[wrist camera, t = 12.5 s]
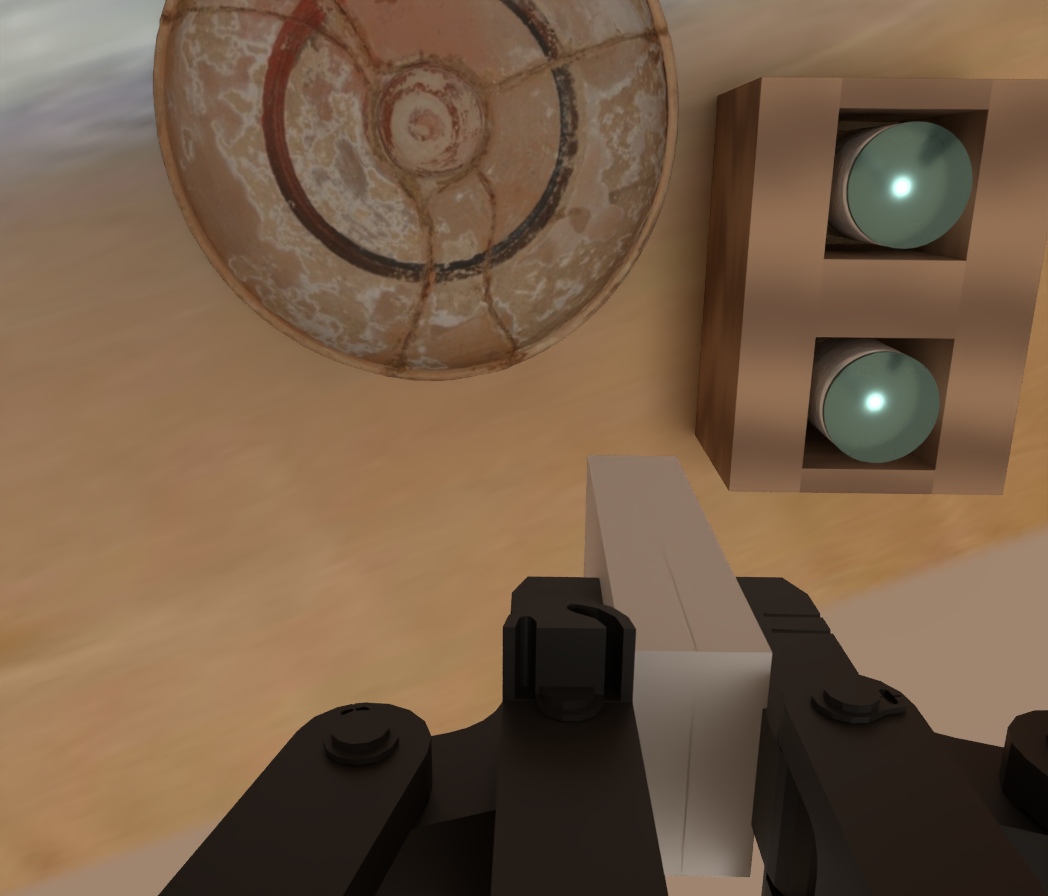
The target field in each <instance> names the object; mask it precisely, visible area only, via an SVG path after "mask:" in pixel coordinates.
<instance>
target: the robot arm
mask: <svg viewBox="0 0 1048 896" xmlns="http://www.w3.org/2000/svg"><path fill="white" fill-rule="evenodd" d="M754 835H755V838H756V841H757V844H758V847H759V850H760V853H761V856H762V859H763V862H764V865H765V866H764V876H763V886H762V895H761V896H1048V710H1043V711H1042V710H1041V711H1040V710H1038V711H1037V710H1036V711H1031V712H1028V713H1025V714H1022V715H1019V716H1016V717H1015V719H1014V720H1013V721H1012V723H1011V724H1010V725H1009V727H1008V730H1007V735H1006V741H1005V746H1004V747H998V746H994V745H988V744H984V743H979V742H973V741H968V740H964V739H958V738H954V737H950V736H946V735H942V734H938V733H934V732H933V730H932V729H931V727H930V726H929V725H928V723H927V722H926V720H925V719H924V718H923V716H922V715H921V713H920V712H919V711H918V709H917V708H916V706H915V705H914V704H913V703H912V702H911V701H910V700H909V699H908V698H906V697H905V696H904V695H903V694H902V693H901V692H900V691H897V690H896V689H894V688H892V687H890V686H888V685H886V684H884V683H883V682H881V681H878V680H875V679H872V678H868V677H865V676H862V675H859V674H858V672H857V670H856V669H855V667H854V666H853V664H852V663H851V661H850V659H849V658H848V656H847V655H846V653H845V652H844V650H843V649H842V647H841V645H840V644H839V642H838V641H837V639H836V638H835V636H834V635H833V634H831V633H830V628H829V627H828V625H827V624H826V622H825V621H824V619H823V618H820V613H819V611H818V610H817V608H816V606H815V605H814V603H813V602H812V600H811V599H810V597H809V596H808V594H806V593H805V592H803V591H802V590H800V589H799V588H797V587H796V586H794V585H793V584H791V583H790V582H788V581H787V580H785V579H783V578H776V577H735V575H734V573H733V571H732V569H731V567H730V565H729V563H728V561H727V559H726V557H725V555H724V553H723V551H722V549H721V547H720V545H719V543H718V541H717V539H716V537H715V535H714V532H713V530H712V528H711V526H710V524H709V522H708V520H707V518H706V516H705V514H704V512H703V510H702V508H701V506H700V504H699V502H698V500H697V498H696V496H695V494H694V492H693V490H692V488H691V486H690V483H689V481H688V479H687V477H686V475H685V473H684V471H683V469H682V467H681V465H680V463H679V461H678V459H677V457H676V456H621V455H587V486H586V518H585V551H584V577H527V578H526V579H525V580H524V581H523V582H522V583H521V584H520V585H519V586H518V587H517V588H516V589H515V590H514V591H513V592H512V600H511V614H510V615H509V616H508V618H507V620H506V622H505V624H504V626H503V702H502V703H501V705H500V706H499V707H498V709H497V710H496V711H495V712H494V713H493V714H491V715H490V716H489V717H487V718H486V719H485V720H483V721H481V722H479V723H477V724H475V725H472V726H470V727H468V728H465V729H461V730H457V731H454V732H450V733H445V734H440V735H435V736H431V734H430V732H429V730H428V727H427V725H426V723H425V721H424V720H422V719H421V718H420V717H418V716H417V715H416V714H414V713H413V712H412V711H410V710H407V709H404V708H401V707H397V706H394V705H391V704H381V703H355V704H353V705H352V704H350V705H346V706H341V707H337V708H335V709H332V710H330V711H327V712H325V713H323V714H320V715H318V716H316V717H314V718H313V719H311V720H310V721H309V722H308V723H306V724H305V725H304V726H303V727H301V728H300V729H299V730H298V731H297V732H296V733H295V734H294V735H293V737H292V738H291V739H290V740H289V741H288V743H287V744H286V745H285V746H284V747H283V748H282V750H281V751H280V752H279V753H278V754H277V756H276V757H275V758H274V759H273V760H272V761H271V763H270V764H269V765H268V766H267V767H266V769H265V770H264V771H263V772H262V773H261V774H260V776H259V777H258V778H257V779H256V780H255V782H254V783H253V784H252V785H251V786H250V787H249V789H248V790H247V791H246V792H245V793H244V795H243V796H242V797H241V798H240V799H239V800H238V802H237V803H236V804H235V805H234V806H233V808H232V809H231V810H230V811H229V812H228V813H227V815H226V816H225V817H224V818H223V819H222V821H221V822H220V823H219V824H218V825H217V826H216V828H215V829H214V830H213V831H212V832H211V834H210V835H209V836H208V837H207V838H206V840H205V841H204V842H203V843H202V844H201V846H200V847H199V848H198V849H197V850H196V851H195V852H194V854H193V855H192V856H191V857H190V858H189V860H188V861H187V862H186V863H185V864H184V866H183V867H182V868H181V869H180V870H179V871H178V873H177V874H176V875H175V876H174V877H173V878H172V880H171V881H170V882H169V883H168V884H167V886H166V887H165V888H164V889H163V890H162V892H161V893H160V894H159V895H158V896H668V892H667V887H666V880H665V875H669V876H670V875H671V876H723V877H726V876H727V877H750V872H751V862H752V852H753V841H754Z"/></svg>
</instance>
